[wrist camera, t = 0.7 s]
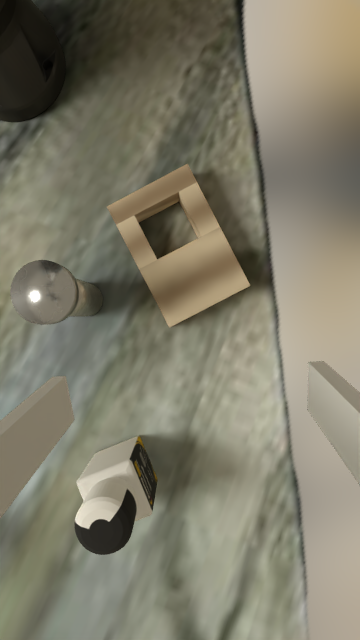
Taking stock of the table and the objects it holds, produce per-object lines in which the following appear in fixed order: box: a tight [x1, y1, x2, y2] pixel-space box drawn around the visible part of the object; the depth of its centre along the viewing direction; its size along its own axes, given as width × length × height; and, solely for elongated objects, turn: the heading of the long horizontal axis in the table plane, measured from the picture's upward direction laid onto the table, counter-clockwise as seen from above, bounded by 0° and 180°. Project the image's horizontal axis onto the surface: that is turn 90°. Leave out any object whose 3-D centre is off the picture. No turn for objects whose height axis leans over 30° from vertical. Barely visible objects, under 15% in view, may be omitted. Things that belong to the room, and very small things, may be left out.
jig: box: [107, 164, 250, 328], centre depth 37 cm, size 18×12×3 cm, turn 28°
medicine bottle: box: [75, 436, 157, 555], centre depth 34 cm, size 7×7×12 cm
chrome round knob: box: [11, 260, 103, 325], centre depth 33 cm, size 6×6×12 cm
